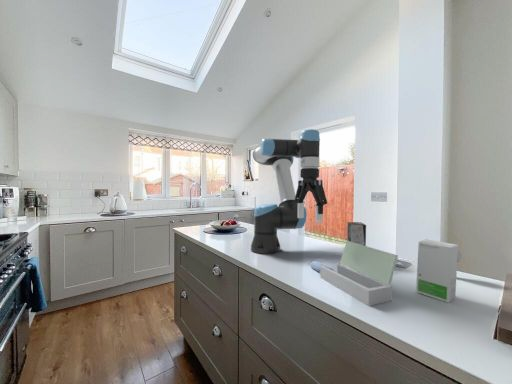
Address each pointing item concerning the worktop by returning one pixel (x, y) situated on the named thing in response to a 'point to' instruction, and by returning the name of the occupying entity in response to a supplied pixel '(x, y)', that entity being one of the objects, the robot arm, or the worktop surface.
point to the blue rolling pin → (317, 266)
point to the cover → (369, 261)
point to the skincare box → (437, 269)
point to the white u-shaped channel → (357, 284)
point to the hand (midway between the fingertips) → (309, 220)
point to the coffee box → (356, 232)
